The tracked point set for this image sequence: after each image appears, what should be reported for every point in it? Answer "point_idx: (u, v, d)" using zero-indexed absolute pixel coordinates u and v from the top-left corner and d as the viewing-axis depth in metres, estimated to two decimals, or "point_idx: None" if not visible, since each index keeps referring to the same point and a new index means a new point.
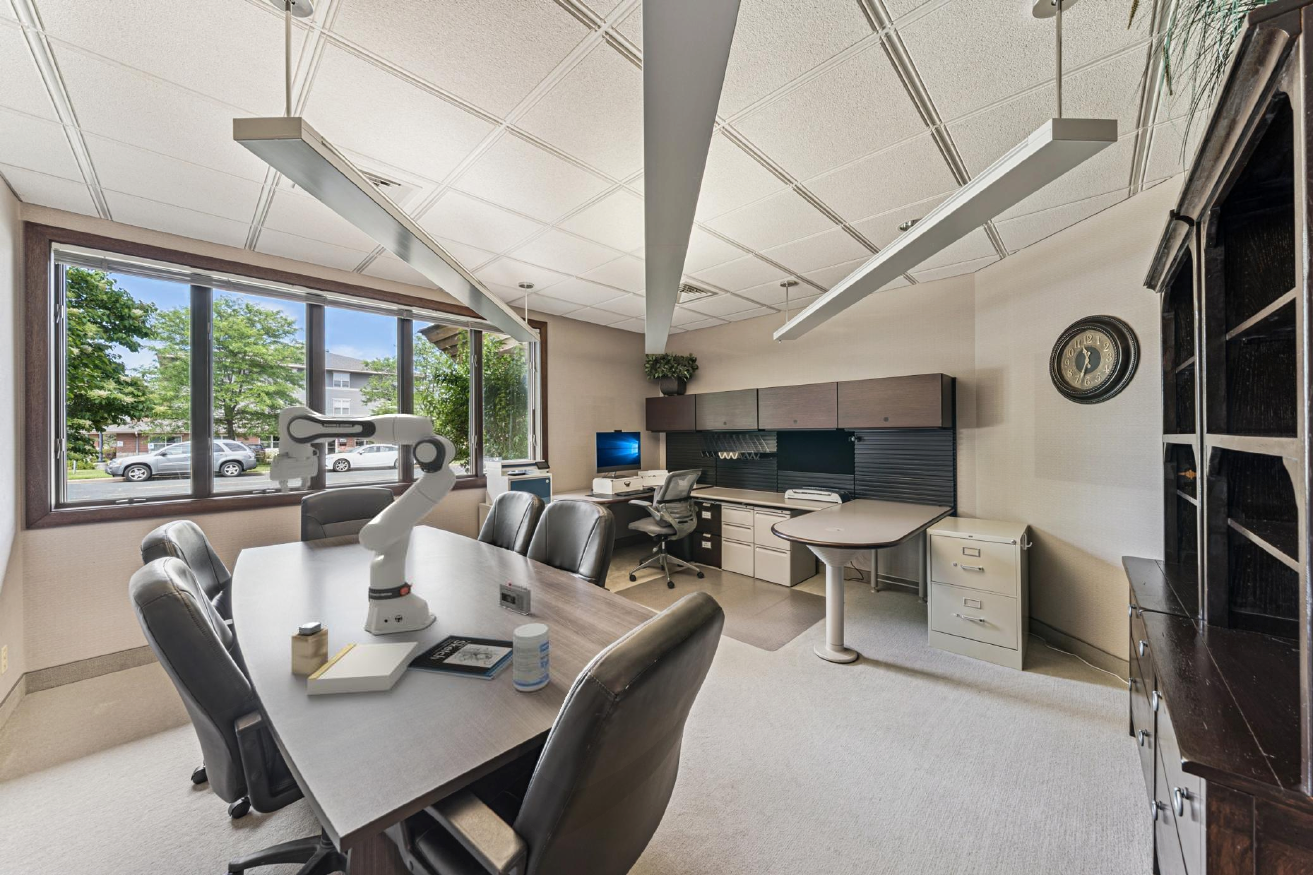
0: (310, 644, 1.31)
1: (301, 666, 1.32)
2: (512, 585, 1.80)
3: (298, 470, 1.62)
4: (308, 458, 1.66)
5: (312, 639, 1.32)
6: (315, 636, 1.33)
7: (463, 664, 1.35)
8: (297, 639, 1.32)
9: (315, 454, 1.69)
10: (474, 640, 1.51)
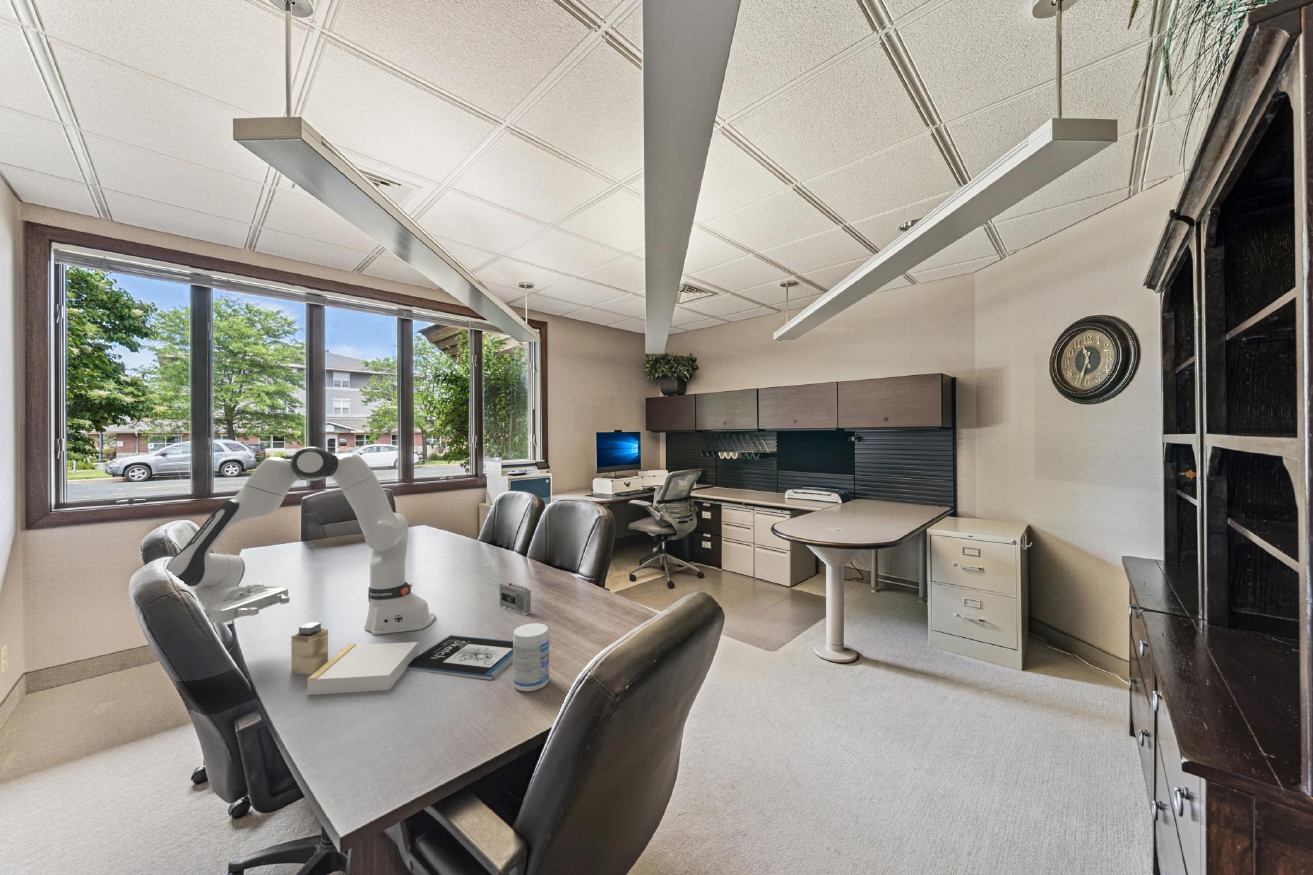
0: (310, 644, 1.31)
1: (301, 666, 1.32)
2: (512, 585, 1.80)
3: (248, 598, 1.37)
4: (250, 591, 1.41)
5: (312, 639, 1.32)
6: (315, 636, 1.33)
7: (463, 664, 1.35)
8: (297, 639, 1.32)
9: (255, 585, 1.44)
10: (474, 640, 1.51)
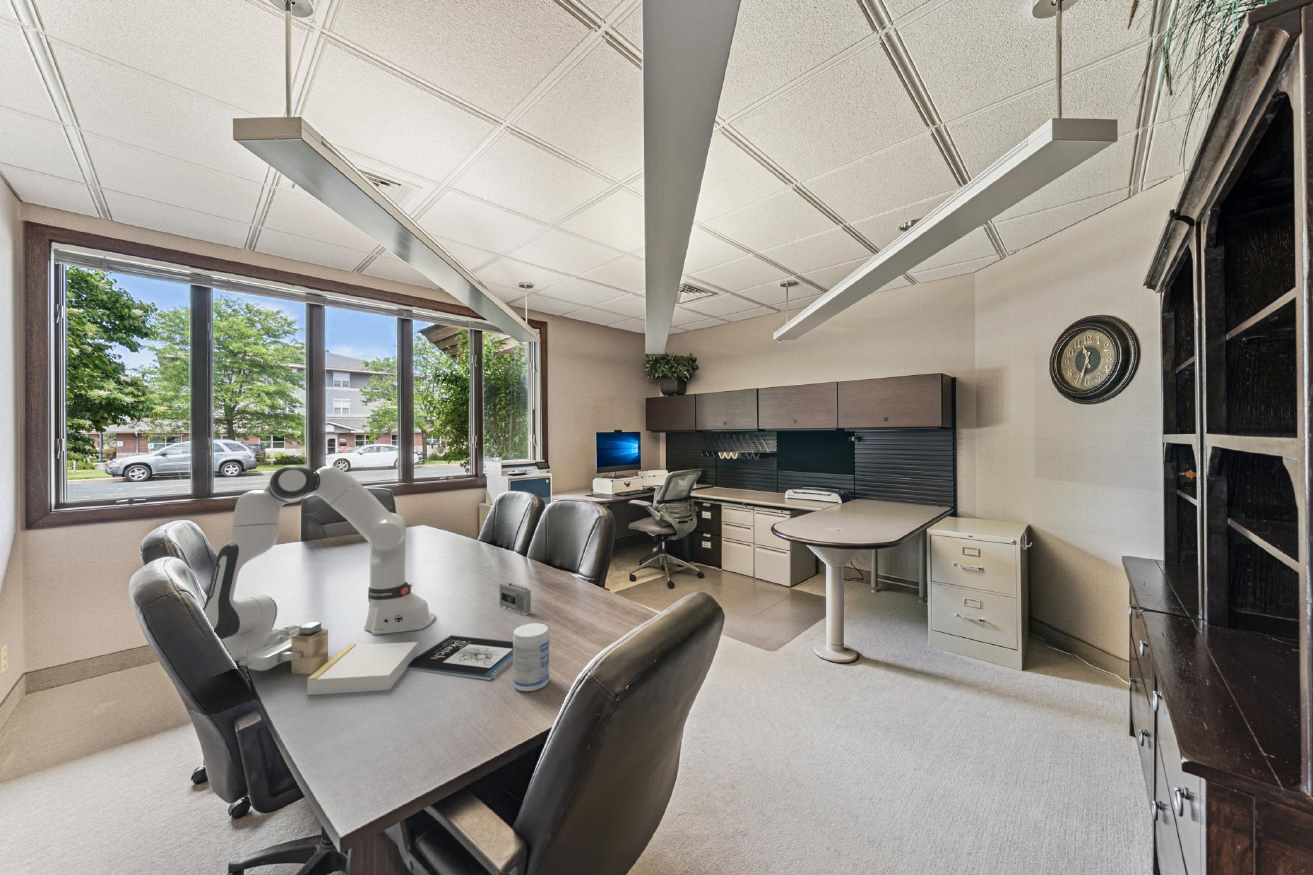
0: (310, 644, 1.31)
1: (302, 666, 1.32)
2: (512, 585, 1.80)
3: (287, 642, 1.35)
4: (288, 633, 1.39)
5: (312, 639, 1.32)
6: (315, 636, 1.33)
7: (463, 664, 1.35)
8: (297, 639, 1.32)
9: (293, 627, 1.42)
10: (474, 641, 1.51)
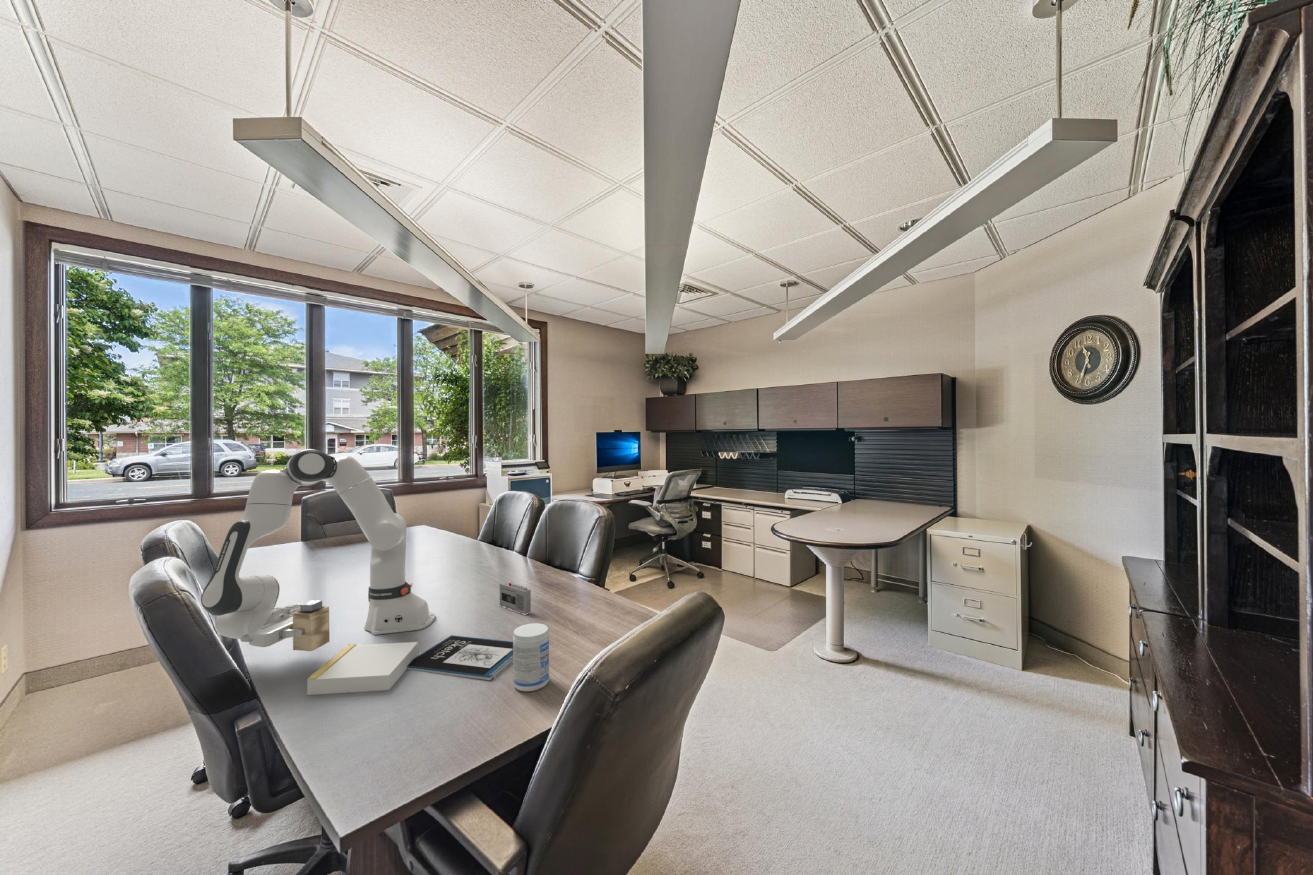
0: (311, 621, 1.31)
1: (303, 643, 1.32)
2: (512, 585, 1.80)
3: (289, 620, 1.35)
4: (289, 612, 1.39)
5: (313, 616, 1.32)
6: (316, 613, 1.33)
7: (463, 664, 1.35)
8: (298, 616, 1.32)
9: (294, 605, 1.42)
10: (475, 641, 1.51)
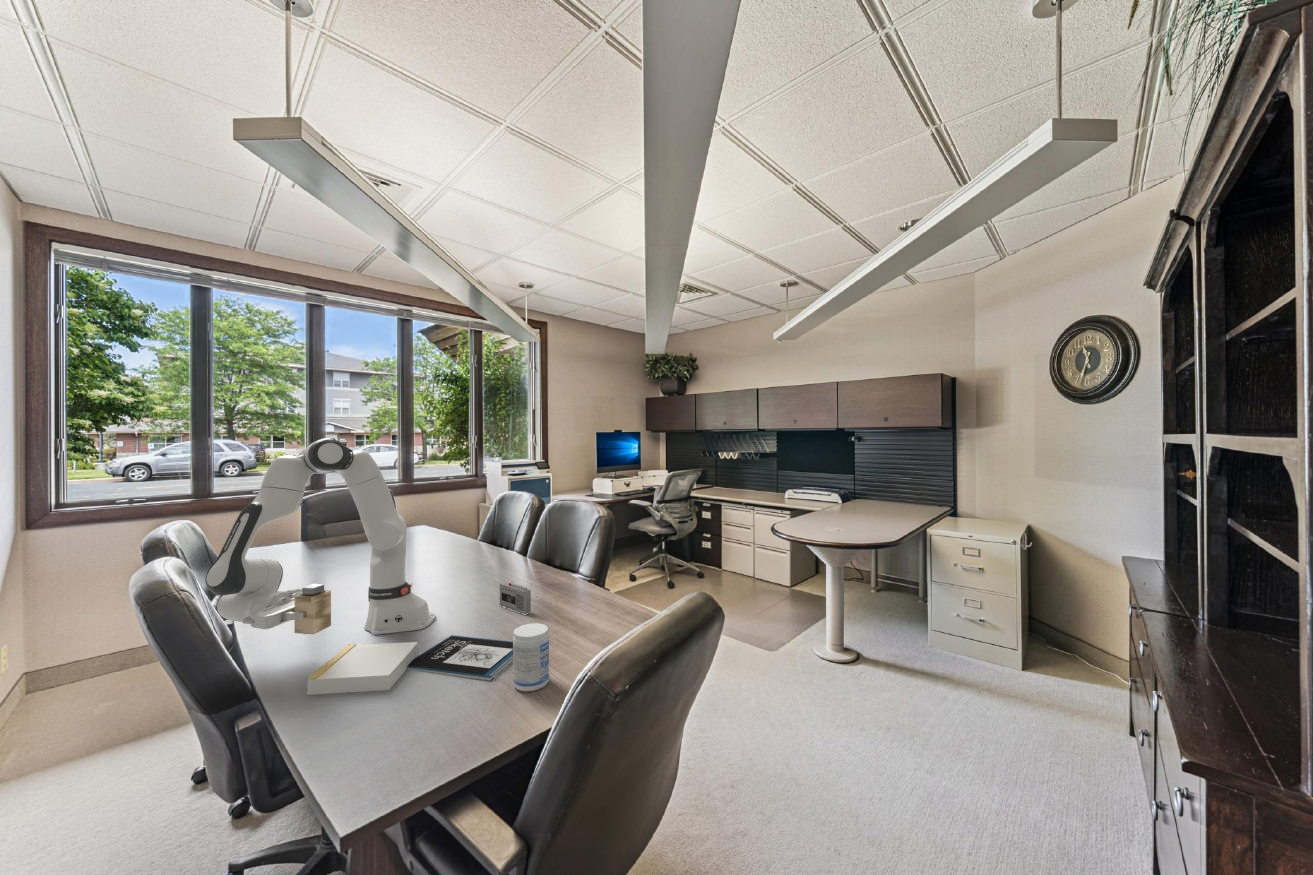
0: (313, 604, 1.31)
1: (305, 626, 1.31)
2: (512, 585, 1.80)
3: (291, 603, 1.35)
4: (291, 595, 1.39)
5: (315, 599, 1.32)
6: (318, 596, 1.33)
7: (463, 664, 1.35)
8: (300, 599, 1.32)
9: (296, 590, 1.42)
10: (475, 641, 1.51)
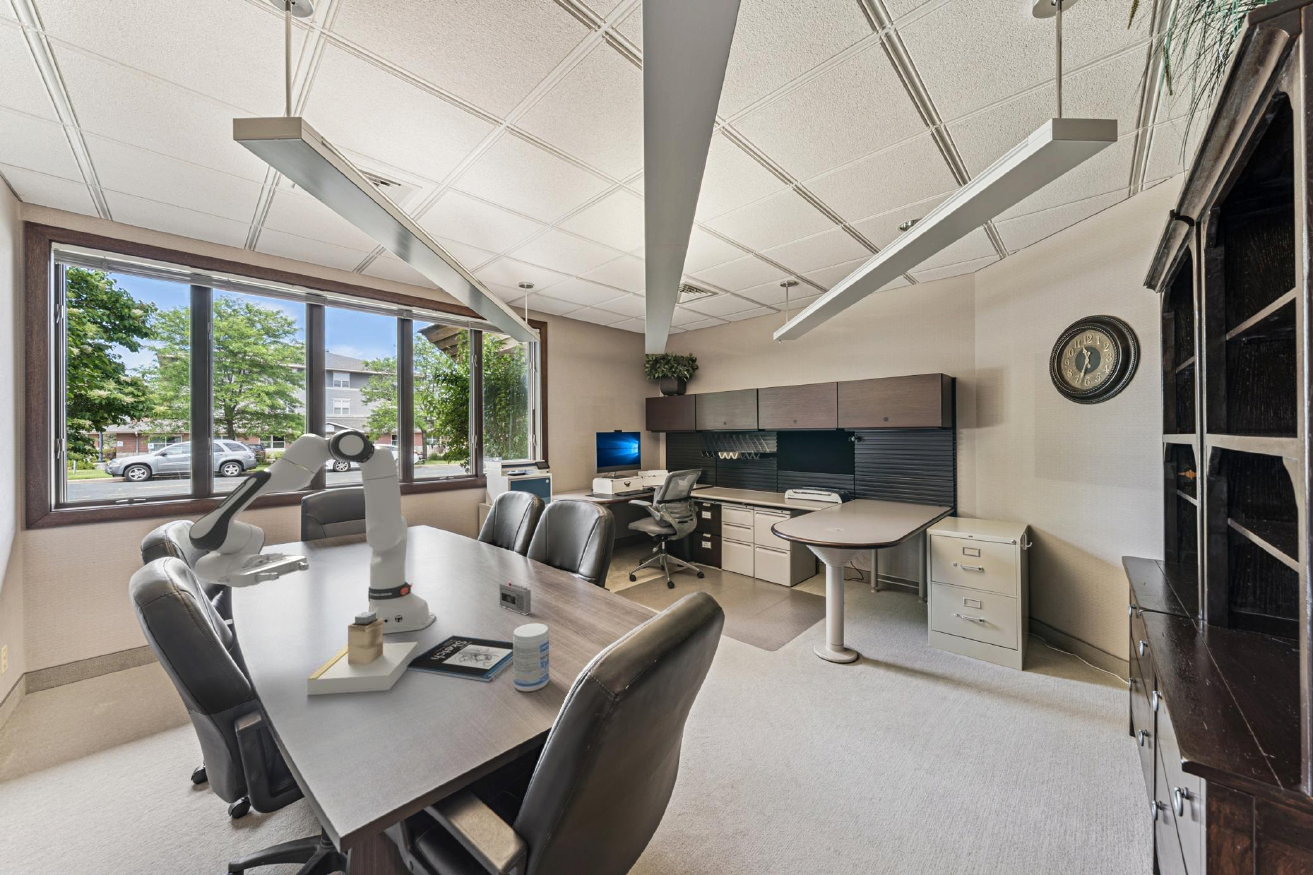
0: (367, 634, 1.29)
1: (358, 656, 1.29)
2: (512, 585, 1.80)
3: (267, 565, 1.35)
4: (269, 558, 1.40)
5: (369, 629, 1.29)
6: (371, 626, 1.30)
7: (463, 665, 1.35)
8: (354, 629, 1.29)
9: (274, 553, 1.43)
10: (475, 641, 1.51)
